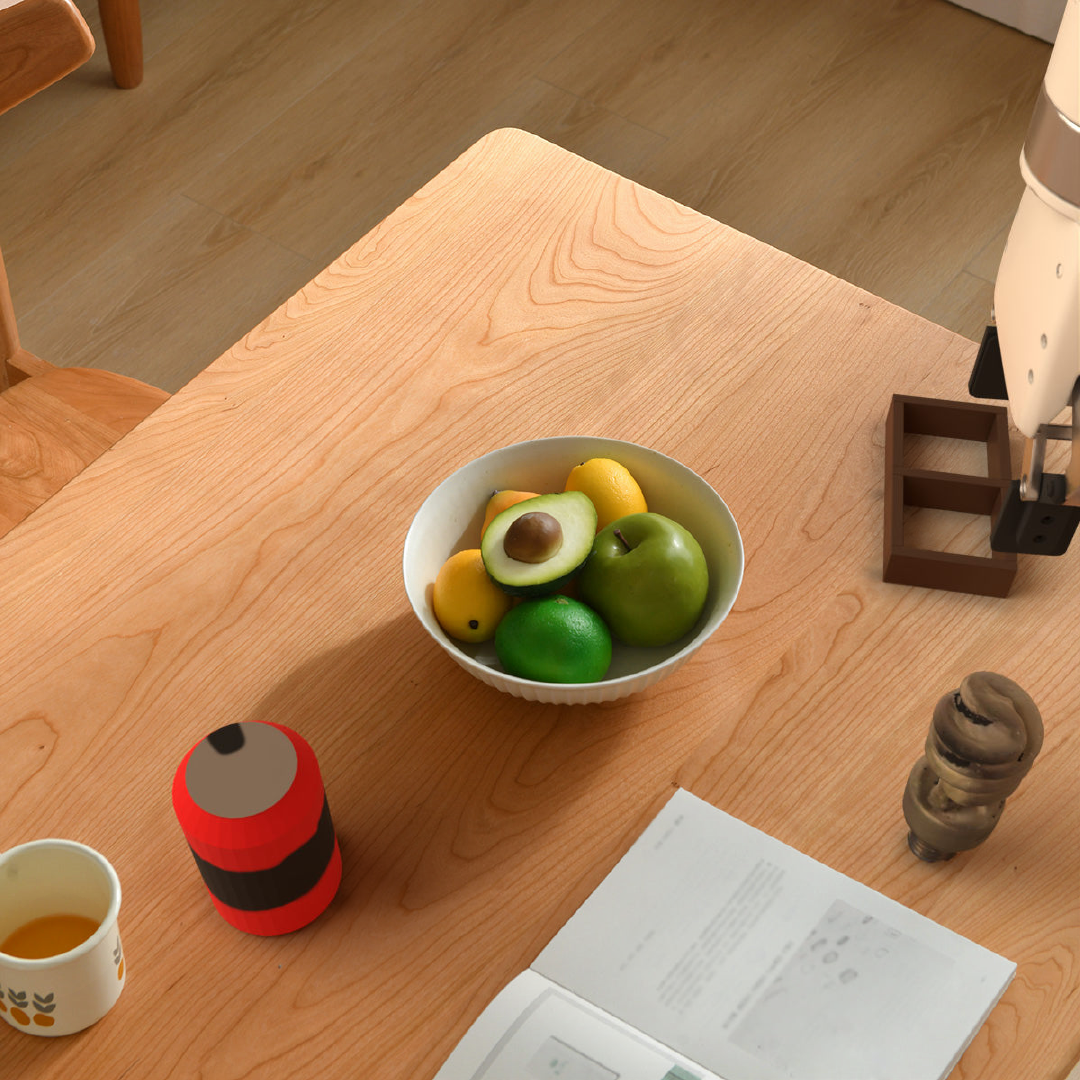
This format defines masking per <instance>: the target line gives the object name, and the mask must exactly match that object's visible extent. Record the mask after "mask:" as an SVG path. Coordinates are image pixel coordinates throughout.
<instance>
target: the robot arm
mask: <svg viewBox="0 0 1080 1080" xmlns="http://www.w3.org/2000/svg"><path fill="white" fill-rule="evenodd" d="M1018 166H1019V171H1020V174H1021V178H1022V179H1023V181H1024V182H1025V184H1026V186H1025V189H1024V191H1023V193H1022V196H1021V199H1020V202H1019V205H1018V207H1017V210H1016V213H1015V216H1014V219H1013V222H1012V224H1011V228H1010V229H1009V233H1008V237H1007V239H1006V243H1005V246H1004V249H1003V252H1002V257H1001V260H1000V263H999V267H998V271H997V276H996V281H995V285H994V294H993V295H994V296H993V298H994V299H993V301H992V304H991V309H990V322H991V323H992V324H993V325H986V326H985V329H984V333H983V336H982V339H981V342H980V344H979V348H978V351H977V354H976V358H975V361H974V363H973V367H972V370H971V373H970V376H969V380H968V383H967V389H968V393H969V395H970V396H971V397H972V398H975V399H981V400H982V399H985V400H996V401H997V400H998V401H1008V402H1009V408H1010V412H1011V416H1012V420H1013V423H1014V425H1015V426H1016V428H1017V429H1018V430H1019V432H1021V434H1022V435H1024V437H1025V442H1024V451H1023V459H1022V467H1021V474H1020V478H1018V479H1012V480H1011V482H1010V485H1009V487H1008V490H1007V493H1006V495H1005V498H1004V500H1003V503H1002V506H1001V508H1000V511H999V514H998V516H997V519H996V521H995V524H994V527H993V529H992V532H991V531H990V535H989V545H990V549H991V551H992V550H993V551H996V552H1006V553H1017V554H1021V555H1032V556H1033V555H1034V556H1046V557H1061V556H1064V555H1065V554H1066V553H1067V552H1068V549H1069V548H1070V545H1071V543H1072V540H1073V539H1074V536H1075V534H1076V531H1077V530H1078V527H1079V525H1080V0H1067V3H1066V5H1065V9H1064V13H1063V15H1062V18H1061V22H1060V26H1059V29H1058V31H1057V36H1056V39H1055V42H1054V45H1053V48H1052V51H1051V55H1050V59H1049V62H1048V65H1047V68H1046V72H1045V74H1044V76H1043V80H1042V82H1041V86H1040V89H1039V92H1038V96H1037V99H1036V102H1035V105H1034V109H1033V112H1032V115H1031V118H1030V121H1029V125H1028V129H1027V131H1026V135H1025V138H1024V142H1023V146H1022V149H1021V152H1020V155H1019V165H1018ZM994 324H995V325H994ZM1067 407H1068V408H1069V407H1071V424H1069V423H1055V422H1052V421H1053V420H1054V419H1056V417H1058V416H1059V415H1060V414H1061V413H1062V412H1063V411H1064V410H1065V409H1066V408H1067ZM1048 440H1053V441H1066V442H1071V455H1070V461H1069V463H1068V466H1067V467H1066V468H1065V469H1064V473H1053V472H1044V467H1045V460H1046V459H1045V458H1046V451H1047V443H1048Z"/></svg>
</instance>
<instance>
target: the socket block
mask: <svg viewBox="0 0 1080 1080" xmlns="http://www.w3.org/2000/svg"><path fill="white" fill-rule="evenodd" d="M1008 413H1009V412H1008V406H1002V405H994V404H993V405H992V404H986V403H985V404H984V403H977V402H967V401H961V400H960V401H959V400H951V399H943V398H933V397H927V396H917V395H910V394H908V395H907V394H900V393H892V396H891V401H890V404H889V407H888V411H887V416H886V419H885V422H884V423H885V425H884V427H885V428H884V429H885V431H884V432H885V435H884V484H883V485H884V487H883V489H884V491H883V492H884V494H883V531H882V532H883V534H882V536H883V537H882V539H883V541H882V542H883V543H882V549H883V550H882V583H888V584H895V585H903V586H910V587H917V588H925V589H931V590H932V589H933V590H939V591H948V592H954V593H962V594H970V595H977V596H983V597H984V596H986V597H993V598H999V599H1007V597H1008V595H1009V592H1010V590H1011V587H1012V585H1013V583H1014V581H1015V578H1016V576H1017V573H1018V571H1019V570H1018V569H1019V567H1018V555H1017V554H1018V553H1006V552H996V551H993V550H992V549H991V557H984V556H975V555H969V554H961V553H953V552H945V551H938V550H932V549H931V550H929V549H923V548H915V547H907V546H904V505H905V506H913V507H920V508H921V507H922V508H929V509H937V510H945V511H952V512H960V513H969V514H977V515H985V516H989V521H990V533H991V532H992V529H993V527H994V524H995V521H996V519H997V516H998V514H999V511H1000V508H1001V506H1002V503H1003V500H1004V498H1005V495H1006V493H1007V490H1008V487H1009V485H1010V482H1011V480H1013V477H1012V475H1013V474H1012V463H1011V462H1012V461H1011V459H1012V458H1011V445H1010V431H1009V415H1008ZM905 433H911V434H919V435H920V434H921V435H926V436H927V435H928V436H937V437H945V438H952V439H961V440H970V441H977V442H985V443H986V458H987V477H985V476H978V475H971V474H970V475H969V474H963V473H954V472H945V471H937V470H931V469H930V470H929V469H923V468H922V469H921V468H913V467H905V466H904V462H905V461H904V456H905V455H904V453H905V452H904V450H905V449H904V447H905V446H904V445H905V444H904V443H905V441H904V440H905Z"/></svg>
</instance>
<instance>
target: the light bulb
mask: <svg viewBox="0 0 1080 1080" xmlns="http://www.w3.org/2000/svg"><path fill="white" fill-rule="evenodd" d="M1044 739H1045V726H1044V722H1043V718H1042V715H1041V712H1040V710H1039V708H1038V705H1037V704H1036V702H1035V701H1034V700H1033V698H1032V697H1031V695H1030V694H1029V693H1028V692H1027V691H1026V690H1025V689H1024V688H1023V687H1022V686H1020V685H1019V684H1018V683H1017V682H1016V681H1014V680H1013V679H1011V678H1009V677H1008V676H1006V675H1003V674H1001V673H997V672H994V671H988V670H987V671H986V670H982V671H981V670H980V671H975V672H972V673H970V674H968V675H967V676H965V677H964V678H963V680H962V682H961V683H960V684H959V687H956V688H955V689H953V690H951V691H949V692H946V693H945V694H944V695H942V696H941V698H940V699H939V700H938V702H937V703H936V705H935V707H934V710H933V713H932V718H931V720H930V723H929V726H928V733H927V735H926V739H925V743H924V754H923V755H922V756H920V758H918V759H917V760H916V761H915V763H914V764H913V766H912V769H911V770H910V773H909V776H908V779H907V781H906V785H905V788H904V791H903V796H902V800H901V801H902V812H903V816H904V819H905V822H906V824H907V826H908V827H909V829H910V830H908V831H909V832H908V833H907V843H908V847H909V850H910V851H911V852H912V854H913V855H914V856H916V857H917V858H918V859H920V860H921V861H923V862H926V863H927V864H933V863H938V862H950V861H951V860H952V859H954V858H955V857H956V855H957V854H958V853H962V852H963V853H964V852H969V851H972V850H974V849H976V848H977V847H979V846H980V845H982V844H983V843H984V842H986V841H987V840H989V839H988V838H989V837H990V836H991V834H992V833H993V831H994V830H995V828H996V827H997V825H998V824H999V822H1000V819H1001V817H1002V815H1003V812H1004V810H1005V808H1006V805H1007V799H1008V798H1009V797H1011V796H1012V795H1013V794H1014V793H1015V792H1016V791H1017V790H1018V788H1019V786H1020V785H1021V783H1022V781H1023V779H1025V778H1026V777H1027V775H1028V774H1029V772H1030V771H1031V769H1032V768H1033V765H1034V763H1035V760H1036V759H1037V757H1038V756H1039V755H1040V753H1041V750H1042V747H1043V745H1044Z"/></svg>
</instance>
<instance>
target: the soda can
mask: <svg viewBox="0 0 1080 1080" xmlns="http://www.w3.org/2000/svg"><path fill="white" fill-rule="evenodd" d="M171 800H172V807H173V810H174V813H175V816H176V818H177V821H178V823H179V826H180V828H181V830H182V833H183V835H184V837H185V841H186V843H187V845H188V847H189V850H190V852H191V854H192V856H193V859H194V861H195V863H196V866H197V868H198V870H199V873H200V875H201V879H202V880H203V882H204V885H205V887H206V889H207V892H208V894H209V897H210V899H211V902H212V904H213V906H214V908H215V909H216V911H217V912H218V914H219V915H220V916H221V917H222V918H223V919H224V920H225V921H226V922H227V923H228V924H229V925H231V926H232V927H234V928H235V929H237V930H239V931H241V932H244V933H247V934H249V935H255V936H260V937H261V936H262V937H269V936H270V937H273V936H280V935H285V934H289V933H292V932H294V931H296V930H299V929H301V928H304V927H305V926H307V925H308V924H310V923H312V922H313V921H314V920H316V919H317V918H318V917H320V916H321V914H323V913H324V912H325V910H326V909H327V908H328V907H329V905H330V904H331V903H332V902H333V900H334V898H335V896H336V894H337V892H338V890H339V888H340V887H339V886H340V883H341V879H342V872H343V862H342V856H341V851H340V846H339V843H338V838H337V834H336V830H335V827H334V821H333V818H332V814H331V811H330V810H331V809H330V805H329V802H328V801H329V800H328V798H327V793H326V789H325V786H324V780H323V777H322V773H321V769H320V764H319V761H318V758H317V756H316V754H315V751H314V749H313V747H312V746H311V745H310V744H309V742H308V741H307V740H306V739H305V737H303V736H302V735H300V734H299V733H298V732H297V731H296V730H293V729H292V728H290V727H288V726H286V725H283V724H280V723H277V722H274V721H268V720H260V719H259V720H256V719H255V720H243V721H238V722H233V723H230V724H227V725H224V726H221V727H219V728H217V729H215V730H213V731H212V732H210V733H208V734H207V735H205V736H204V737H202V738H201V739H200V740H198V741H197V742H196V743H195V744H194V745H193V746H192V747H191V748H190V749H189V750H188V752H187V753H186V754H185V755H184V756H183V758H182V759H181V761H180V763H179V764H178V766H177V769H176V772H175V774H174V776H173V779H172V787H171Z"/></svg>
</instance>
